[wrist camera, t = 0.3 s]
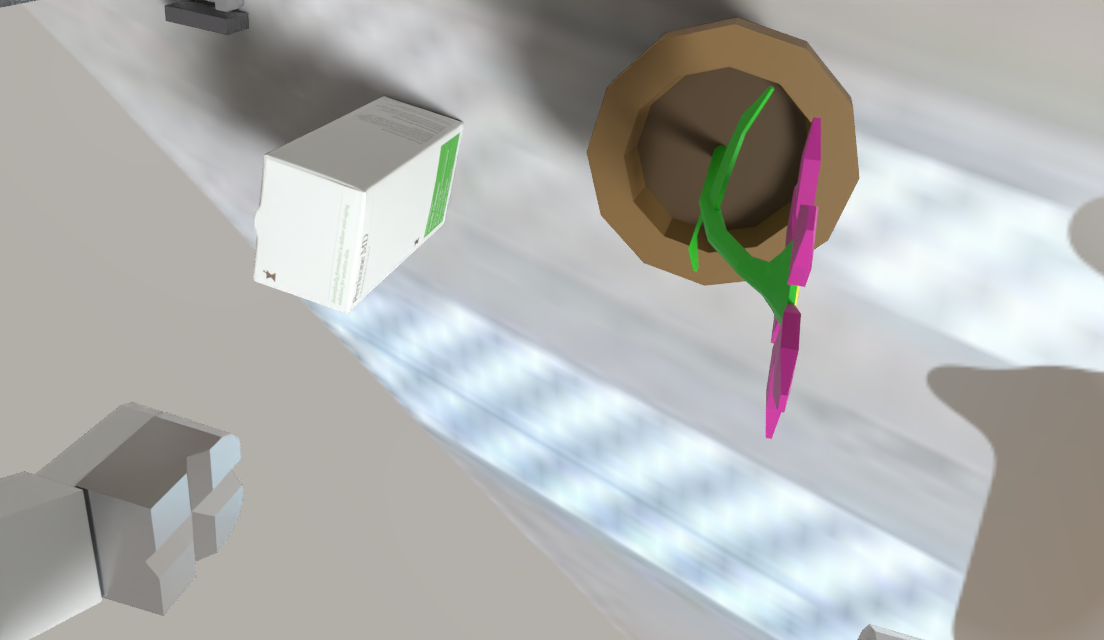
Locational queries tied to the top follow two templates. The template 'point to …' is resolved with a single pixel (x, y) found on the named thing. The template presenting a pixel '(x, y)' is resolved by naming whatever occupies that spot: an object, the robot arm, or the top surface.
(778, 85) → the flowerpot
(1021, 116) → the top surface
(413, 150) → the skincare box
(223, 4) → the rail
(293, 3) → the top surface
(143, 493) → the robot arm
